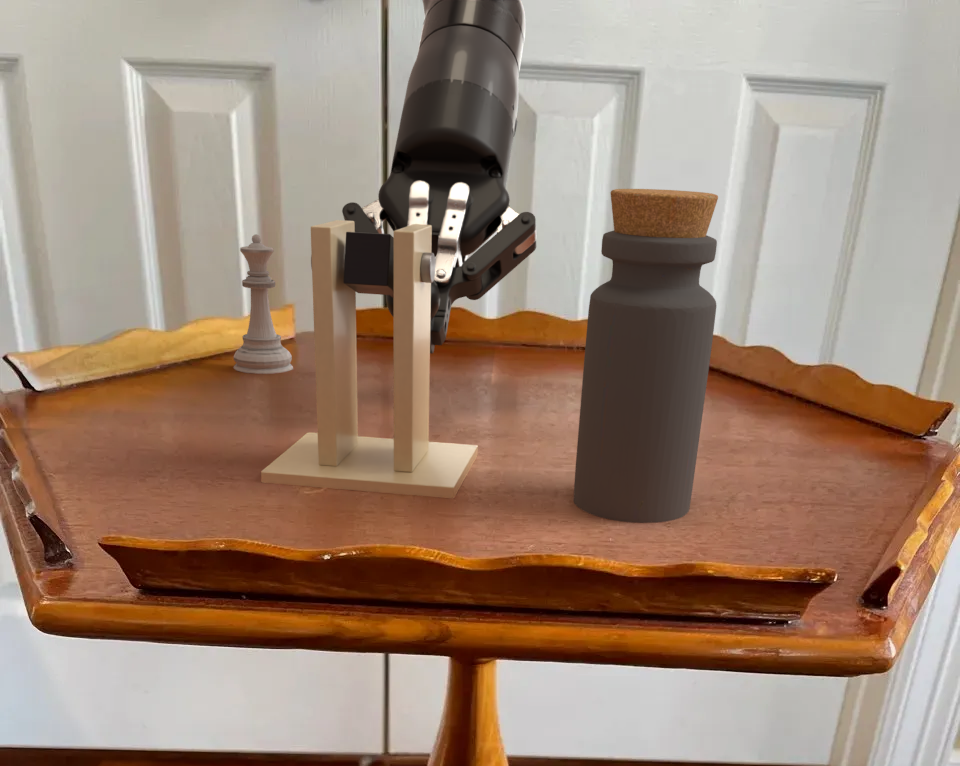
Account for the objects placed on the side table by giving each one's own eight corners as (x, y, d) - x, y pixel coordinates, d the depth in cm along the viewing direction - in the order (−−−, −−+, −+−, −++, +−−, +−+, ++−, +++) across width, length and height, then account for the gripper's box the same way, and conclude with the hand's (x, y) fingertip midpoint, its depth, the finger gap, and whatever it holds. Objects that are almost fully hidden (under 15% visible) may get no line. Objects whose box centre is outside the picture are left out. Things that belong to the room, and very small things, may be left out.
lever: (390, 328, 62) (394, 273, 62) (442, 331, 62) (446, 276, 62) (332, 291, 50) (336, 222, 49) (397, 295, 49) (401, 225, 49)
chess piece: (227, 380, 76) (217, 235, 71) (242, 368, 80) (233, 230, 75) (286, 383, 76) (280, 238, 71) (298, 371, 79) (292, 233, 75)
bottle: (609, 541, 48) (643, 194, 42) (551, 502, 53) (574, 186, 46) (711, 527, 50) (759, 196, 44) (647, 491, 55) (682, 188, 49)
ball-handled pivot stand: (308, 452, 60) (298, 215, 54) (477, 465, 59) (486, 224, 53) (261, 494, 53) (245, 226, 47) (453, 510, 51) (460, 237, 46)
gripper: (350, 71, 65) (299, 300, 60) (557, 79, 64) (525, 314, 58) (370, 161, 72) (327, 373, 67) (557, 170, 71) (529, 387, 65)
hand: (419, 345), depth 63 cm, fingers closed
